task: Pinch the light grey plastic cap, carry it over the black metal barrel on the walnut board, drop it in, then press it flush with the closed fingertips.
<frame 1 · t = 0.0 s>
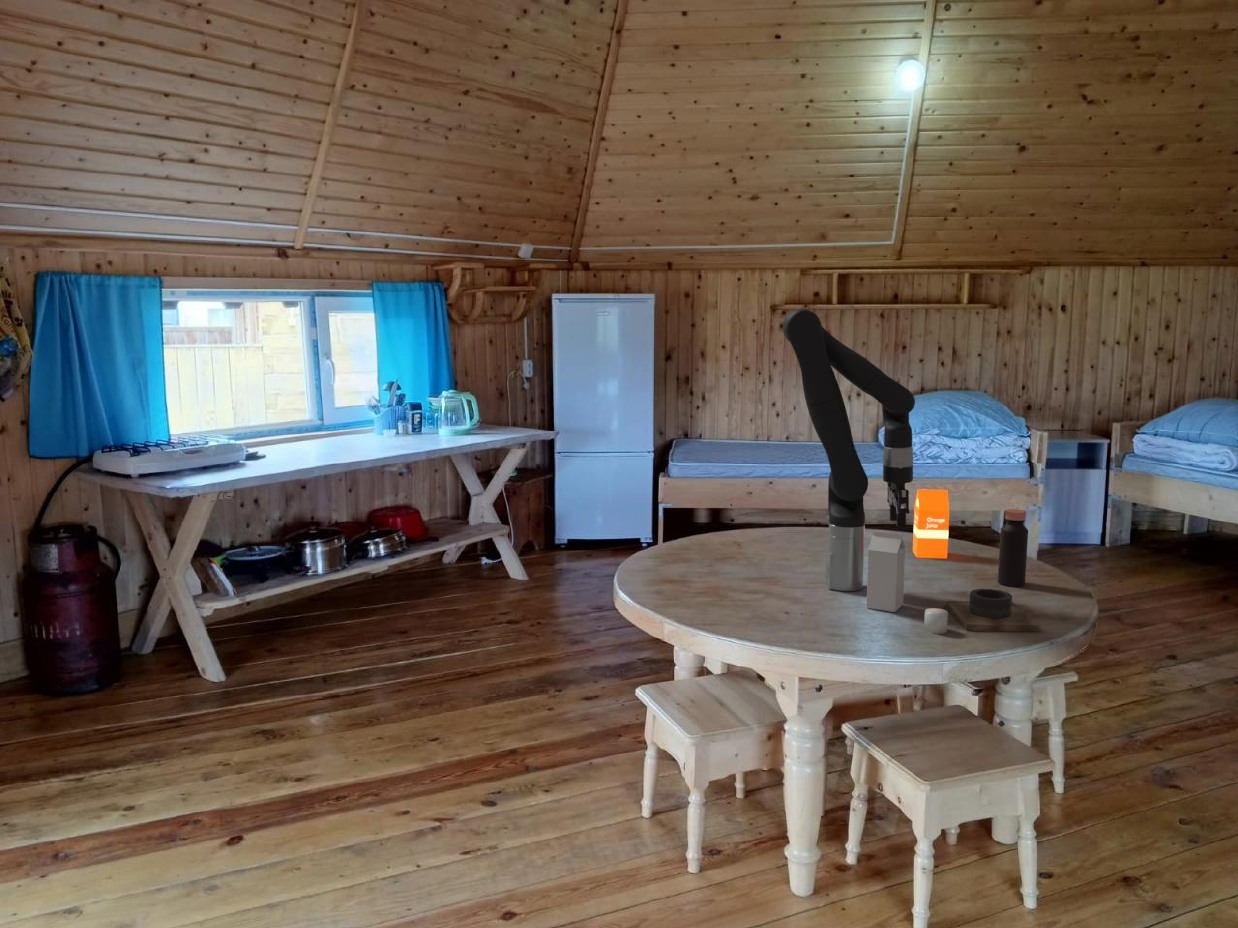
hand: (897, 524, 248), 17 cm above the table, tool pointing down, fingers open, 8 cm apart
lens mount: (989, 618, 225), on the table
orange juice: (929, 555, 284), on the table
milk carton: (884, 607, 235), on the table
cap: (935, 630, 217), on the table
bottle: (1011, 584, 254), on the table
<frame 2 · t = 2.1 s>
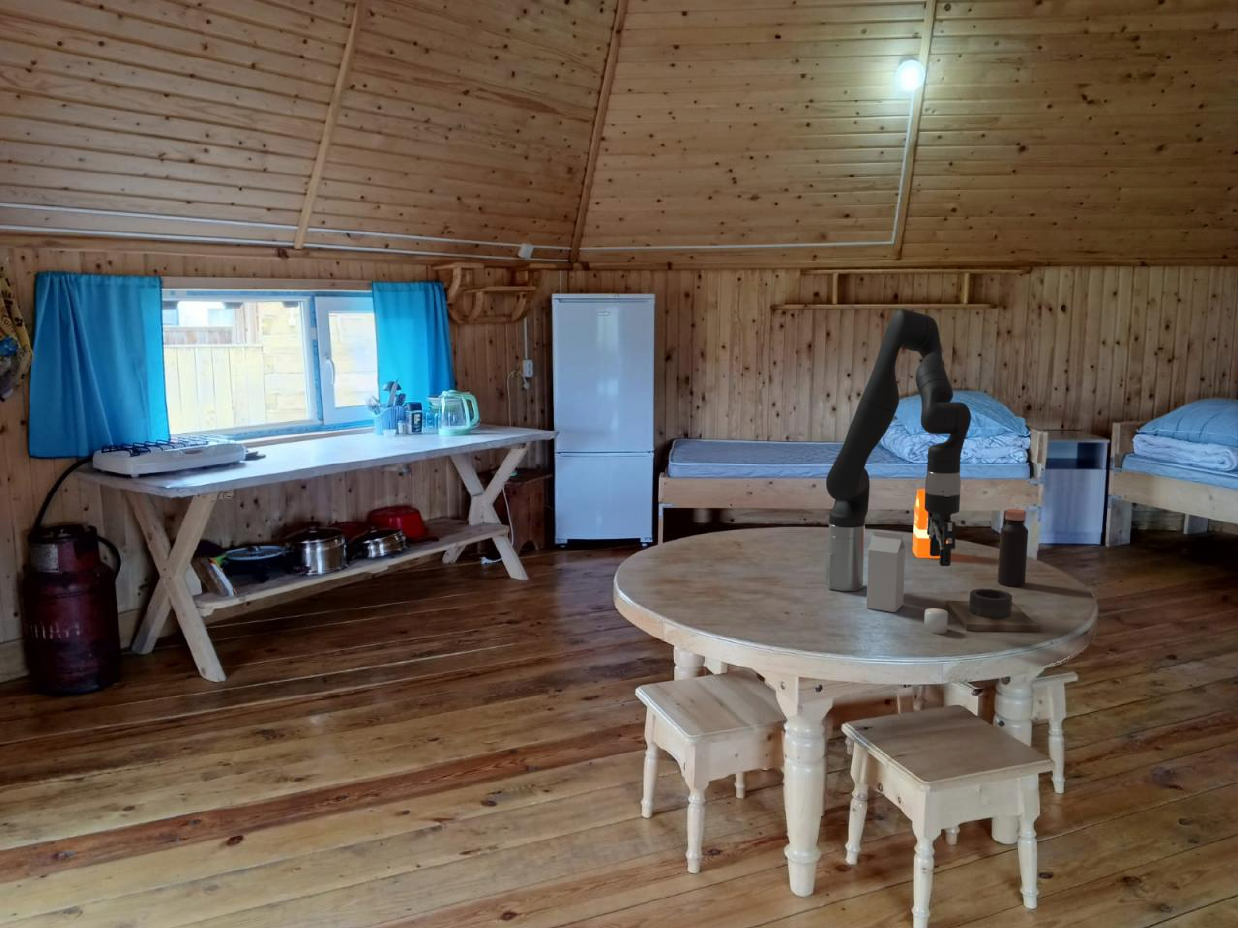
hand: (939, 560, 215), 16 cm above the table, tool pointing down, fingers open, 8 cm apart
nothing on the table moved.
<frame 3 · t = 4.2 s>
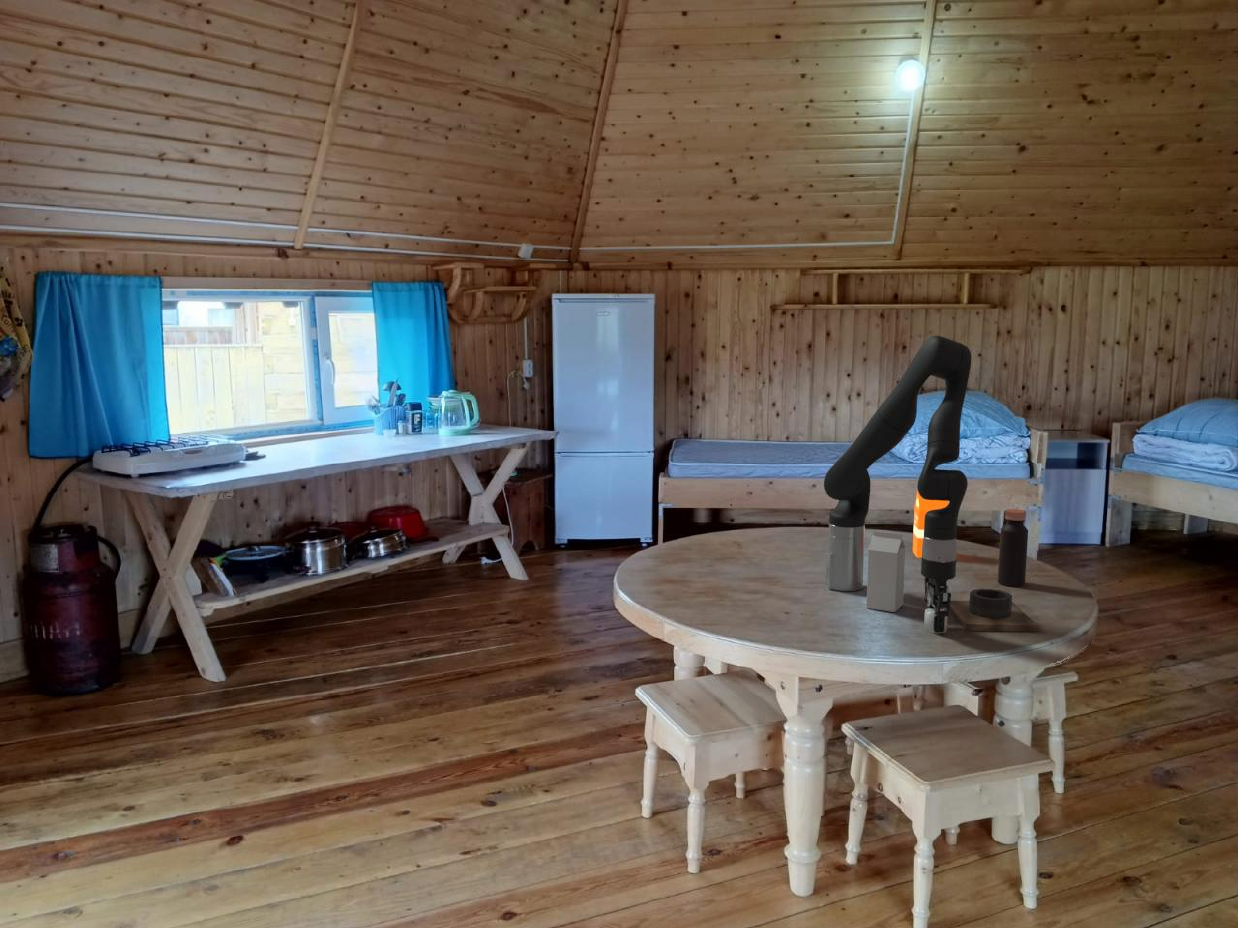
hand: (935, 627, 217), 1 cm above the table, tool pointing down, fingers closed on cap, 5 cm apart
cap: (935, 630, 217), on the table, touching gripper
everything else where it was.
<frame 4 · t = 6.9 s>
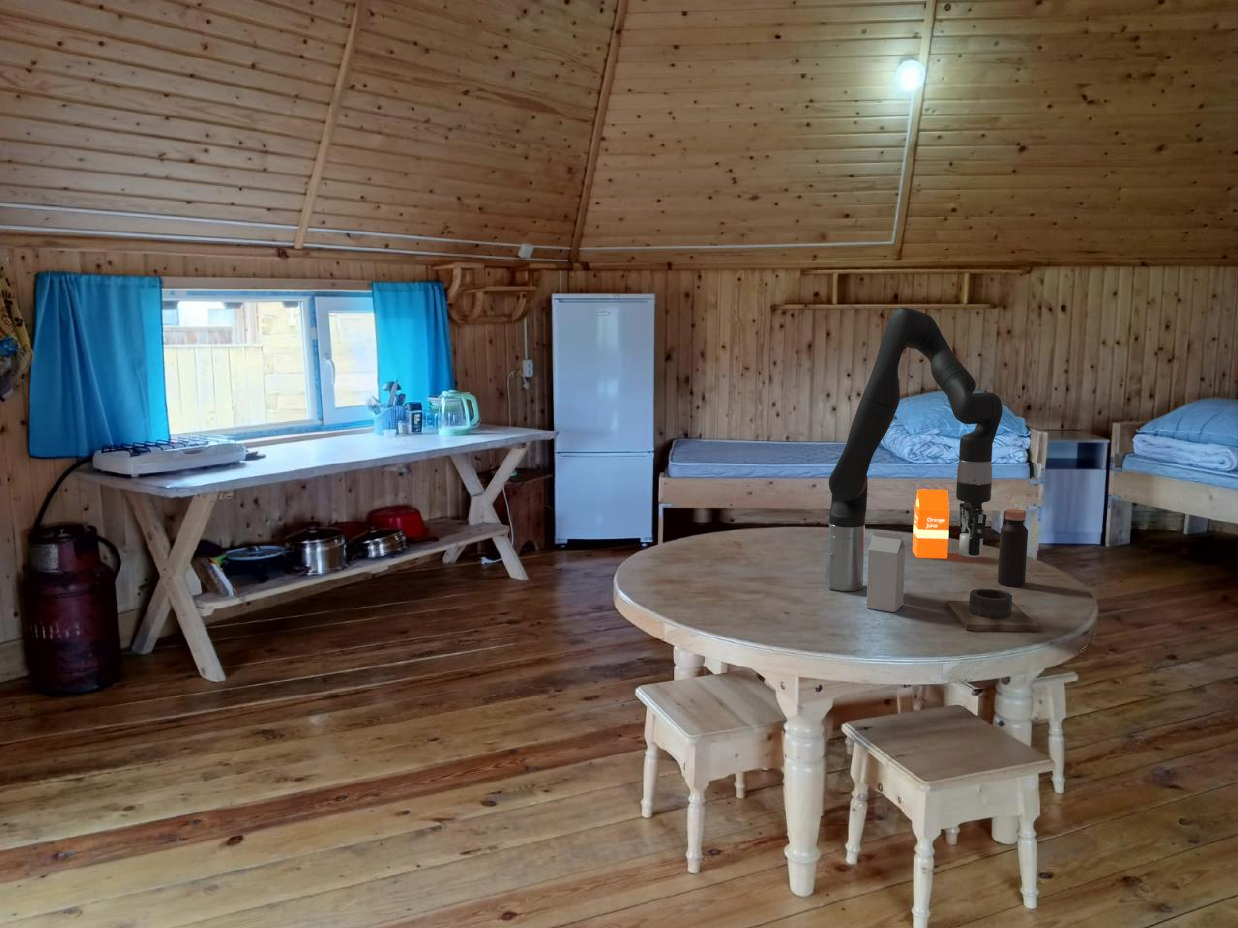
hand: (970, 551, 219), 17 cm above the table, tool pointing down, fingers closed on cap, 5 cm apart
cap: (970, 554, 219), point 17 cm above the table, touching gripper
everything else where it was.
when the fingers open (8 cm above the table, at t = 9.5 s): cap drops 6 cm, resting on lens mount.
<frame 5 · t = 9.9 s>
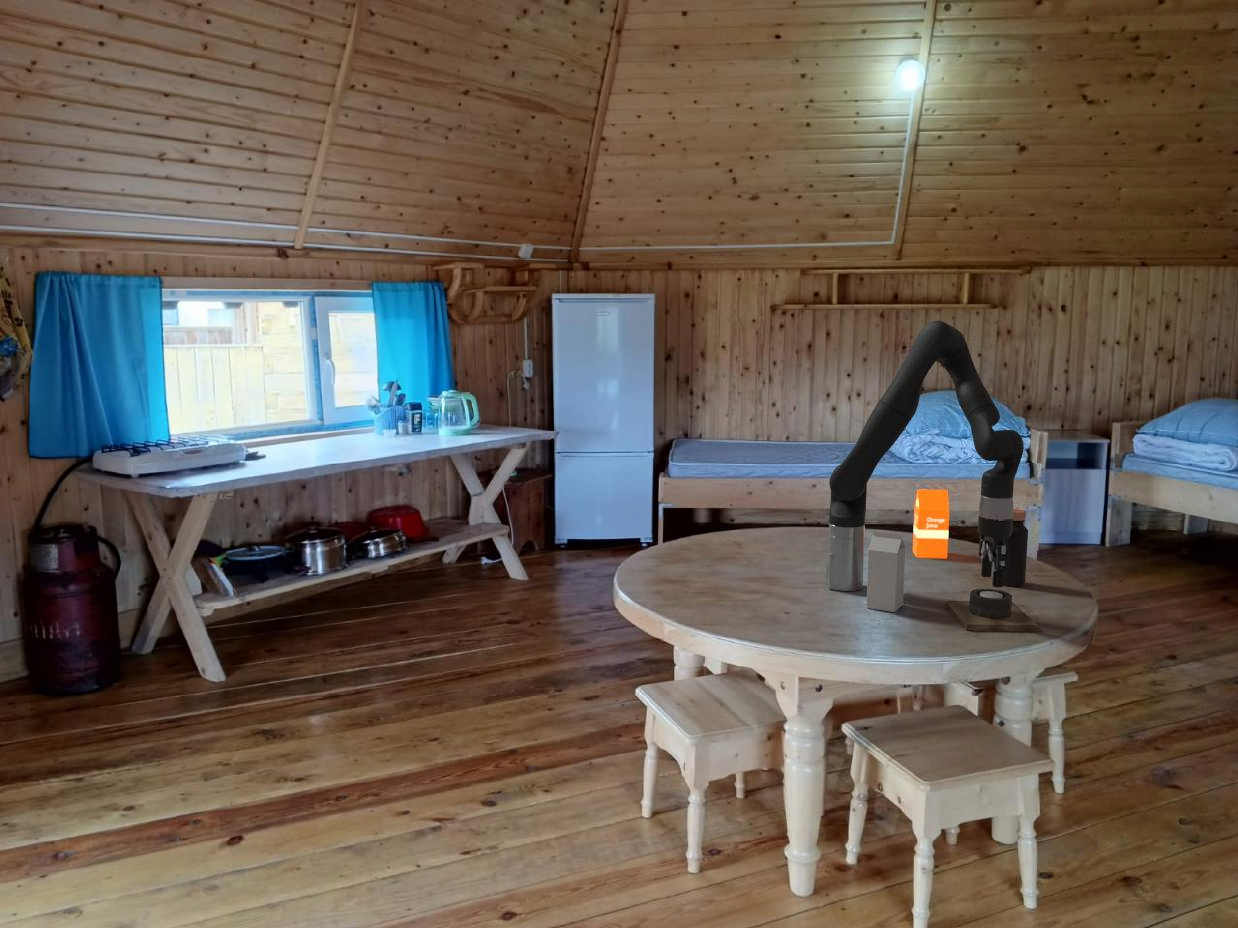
hand: (991, 581, 224), 9 cm above the table, tool pointing down, fingers open, 8 cm apart
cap: (990, 612, 225), point 2 cm above the table, touching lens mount
everything else where it was.
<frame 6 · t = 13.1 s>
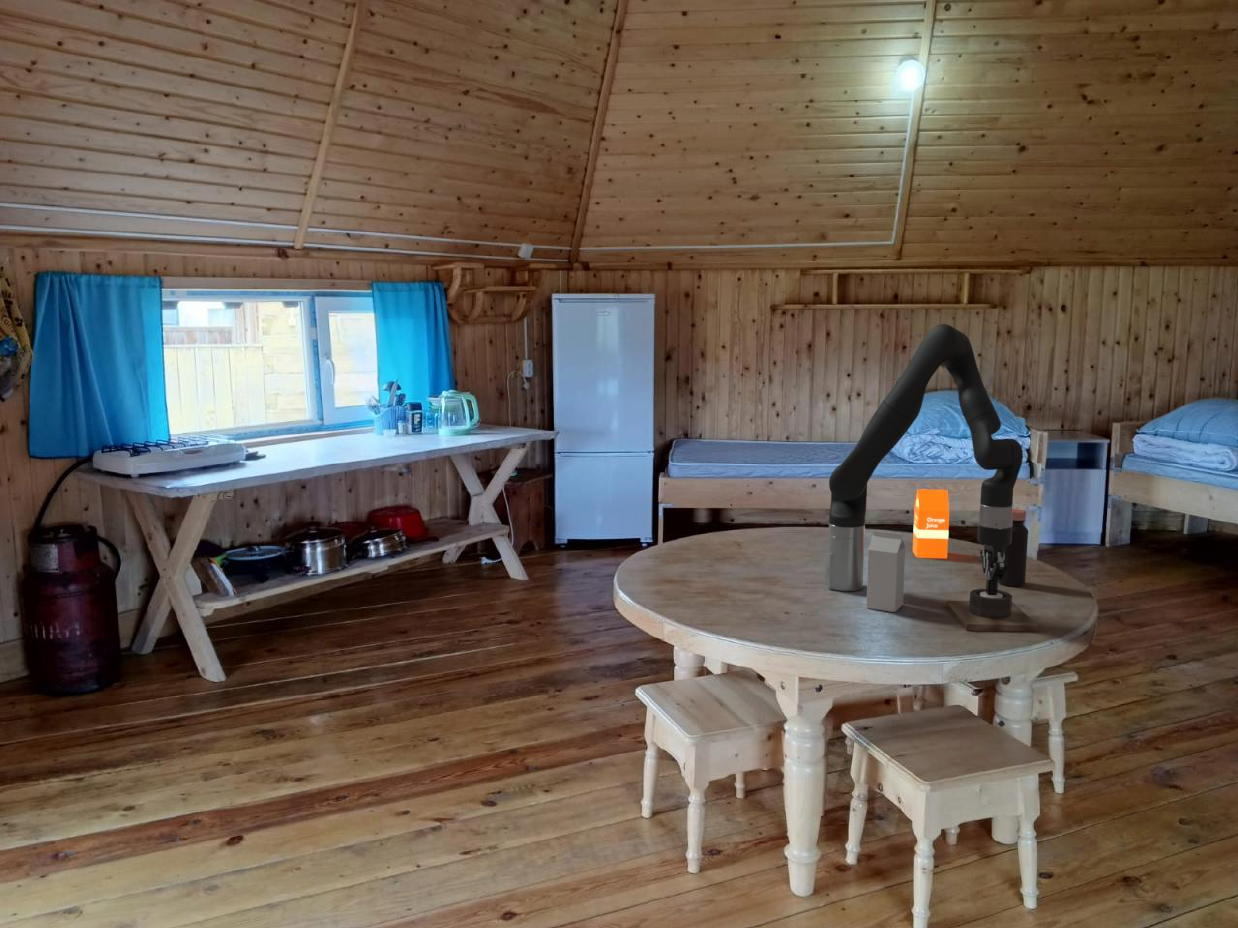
hand: (991, 594, 224), 6 cm above the table, tool pointing down, fingers closed
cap: (990, 612, 225), point 1 cm above the table, touching gripper, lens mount
everything else where it was.
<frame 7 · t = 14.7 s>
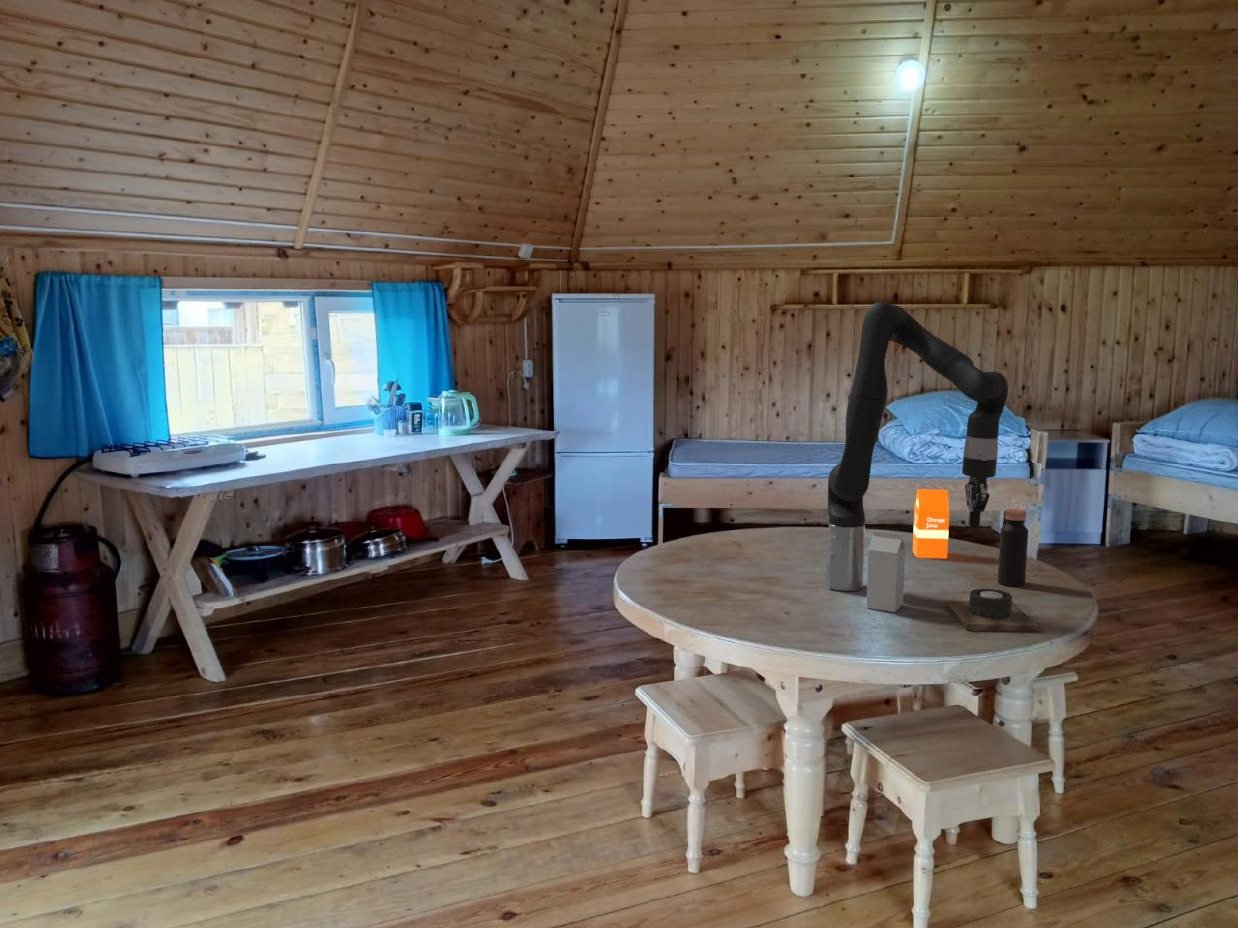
hand: (973, 526, 227), 21 cm above the table, tool pointing down, fingers closed
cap: (990, 612, 225), point 2 cm above the table, touching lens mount
everything else where it was.
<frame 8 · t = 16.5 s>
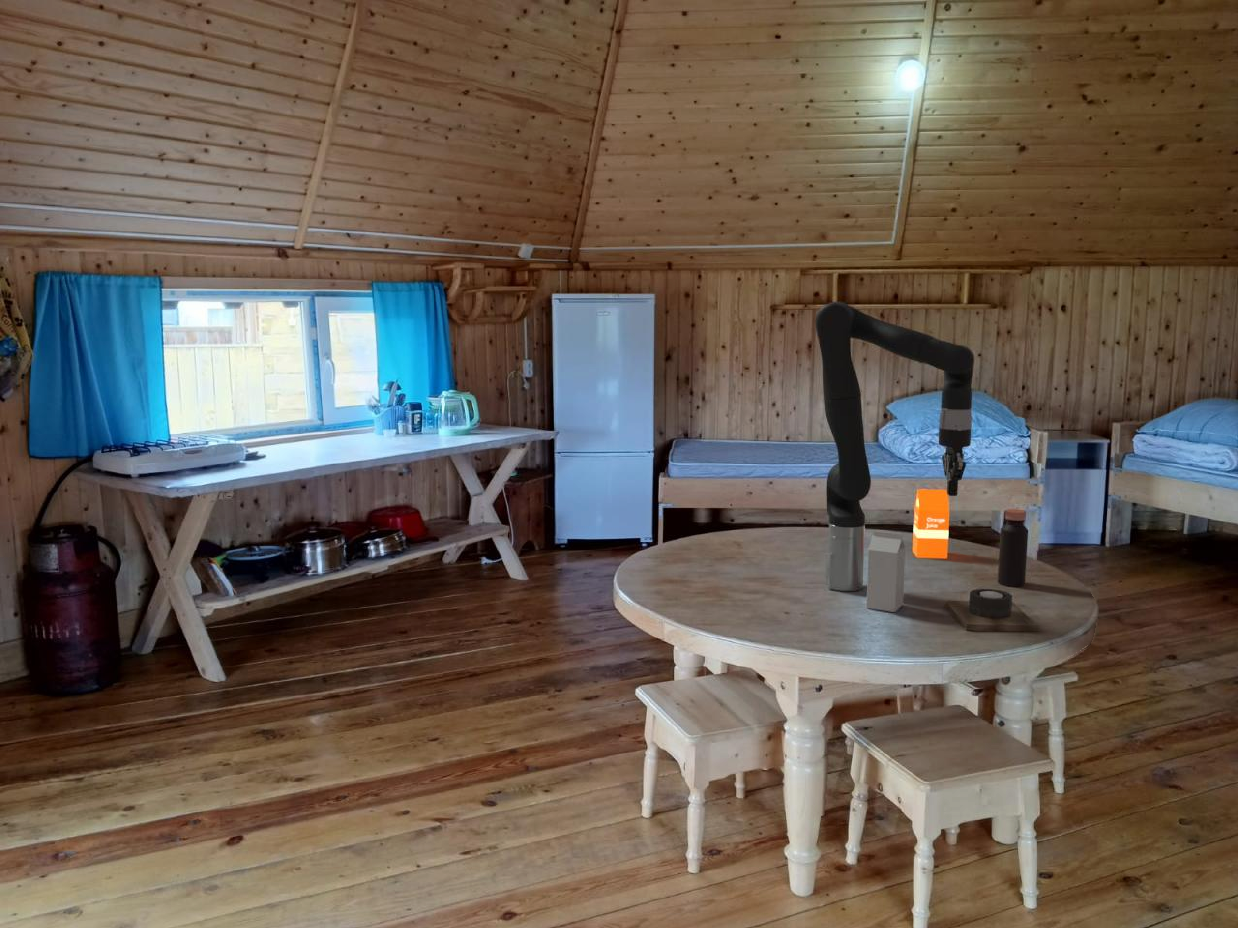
hand: (952, 495, 236), 27 cm above the table, tool pointing down, fingers closed
nothing on the table moved.
at the end: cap 0.0 cm off-centre on the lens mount, point 1.5 cm above the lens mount's base; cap tilted 0°; the gripper is holding nothing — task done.
